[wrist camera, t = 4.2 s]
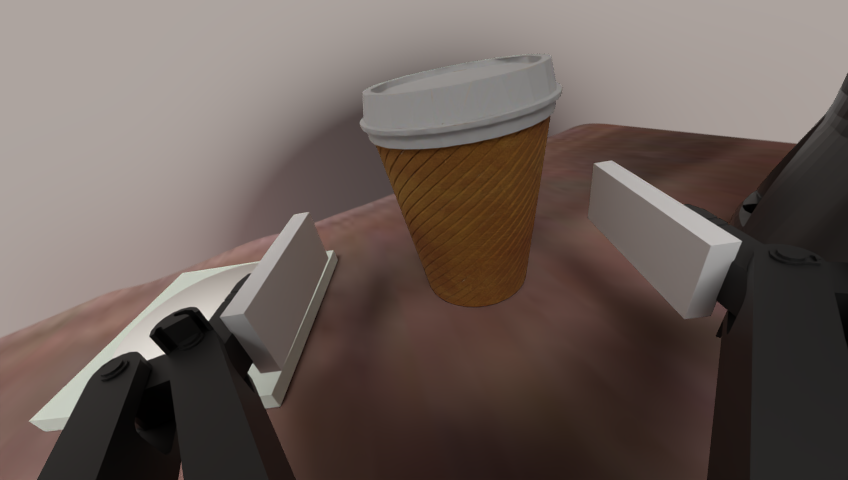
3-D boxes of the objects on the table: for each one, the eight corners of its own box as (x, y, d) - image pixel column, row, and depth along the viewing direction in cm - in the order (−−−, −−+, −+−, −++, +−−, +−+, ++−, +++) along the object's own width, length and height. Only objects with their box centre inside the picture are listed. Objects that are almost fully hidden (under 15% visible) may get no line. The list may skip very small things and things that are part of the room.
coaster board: (337, 260, 25) (332, 248, 25) (280, 406, 15) (269, 392, 15) (189, 282, 27) (181, 271, 26) (45, 431, 16) (25, 418, 16)
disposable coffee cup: (583, 310, 17) (615, 53, 11) (408, 344, 17) (337, 111, 11) (521, 225, 25) (518, 50, 19) (403, 248, 25) (360, 83, 19)
